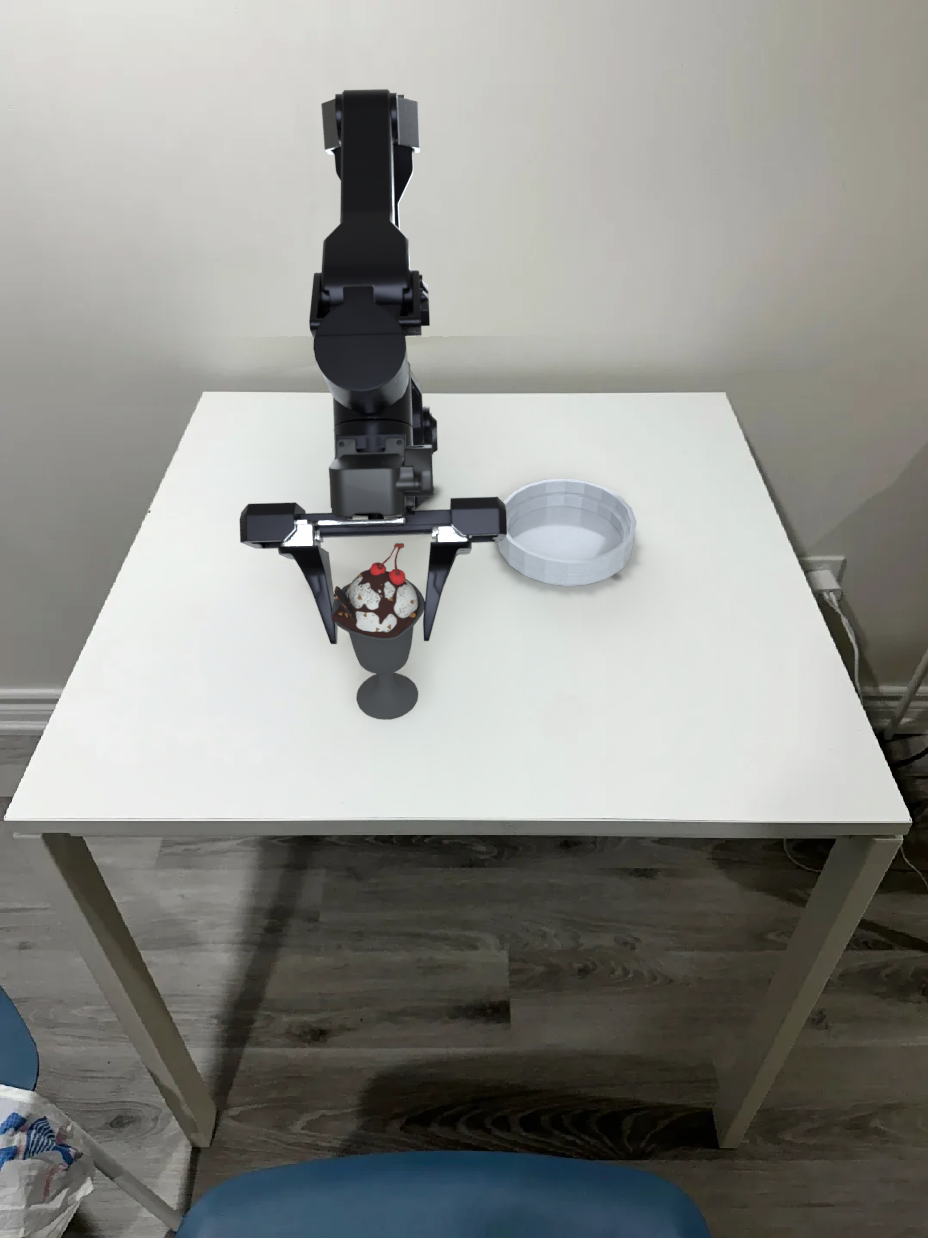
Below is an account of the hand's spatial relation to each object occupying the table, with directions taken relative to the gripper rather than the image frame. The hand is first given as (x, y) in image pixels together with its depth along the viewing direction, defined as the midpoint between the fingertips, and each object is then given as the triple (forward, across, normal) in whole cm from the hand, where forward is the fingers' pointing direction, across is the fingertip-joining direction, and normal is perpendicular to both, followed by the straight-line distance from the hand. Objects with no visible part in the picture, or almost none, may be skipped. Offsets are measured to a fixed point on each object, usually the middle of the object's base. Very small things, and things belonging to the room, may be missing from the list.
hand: (379, 642), depth 65 cm
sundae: (+4, 0, +6) cm, 8 cm away
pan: (-9, +18, +28) cm, 35 cm away
